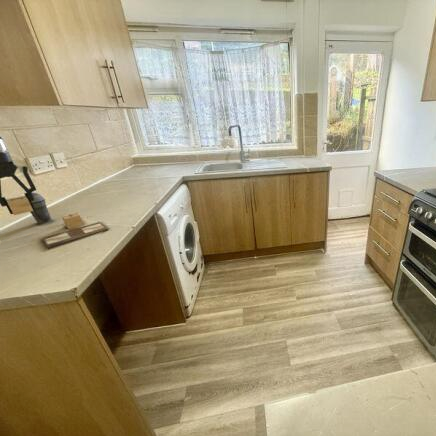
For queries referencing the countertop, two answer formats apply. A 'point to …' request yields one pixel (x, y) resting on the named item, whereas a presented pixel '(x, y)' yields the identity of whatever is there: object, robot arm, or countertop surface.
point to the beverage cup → (40, 209)
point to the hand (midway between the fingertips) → (22, 210)
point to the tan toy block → (19, 205)
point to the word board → (73, 235)
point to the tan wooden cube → (72, 220)
